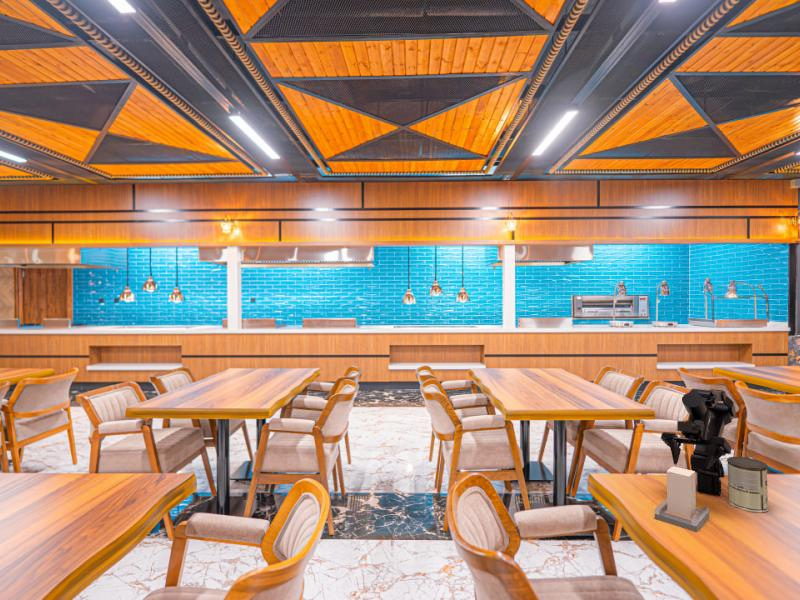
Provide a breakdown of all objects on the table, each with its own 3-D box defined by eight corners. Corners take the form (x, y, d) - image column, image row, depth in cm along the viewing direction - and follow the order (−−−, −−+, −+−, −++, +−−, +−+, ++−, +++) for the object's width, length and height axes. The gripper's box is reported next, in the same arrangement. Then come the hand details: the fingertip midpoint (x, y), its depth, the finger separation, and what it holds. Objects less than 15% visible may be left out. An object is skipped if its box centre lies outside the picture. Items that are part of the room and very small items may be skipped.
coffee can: (724, 496, 149) (723, 454, 149) (762, 502, 145) (761, 458, 145) (732, 509, 140) (731, 464, 140) (773, 515, 135) (772, 469, 136)
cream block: (673, 506, 138) (672, 466, 139) (695, 512, 134) (695, 471, 134) (667, 512, 134) (666, 471, 135) (690, 519, 130) (689, 476, 130)
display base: (697, 531, 126) (696, 521, 126) (654, 518, 134) (654, 508, 134) (709, 517, 135) (708, 507, 135) (668, 505, 143) (668, 496, 143)
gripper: (657, 408, 152) (648, 450, 145) (719, 411, 137) (712, 458, 130) (672, 425, 156) (664, 466, 149) (734, 430, 141) (728, 476, 134)
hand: (690, 466), depth 140 cm, fingers open, 9 cm apart
